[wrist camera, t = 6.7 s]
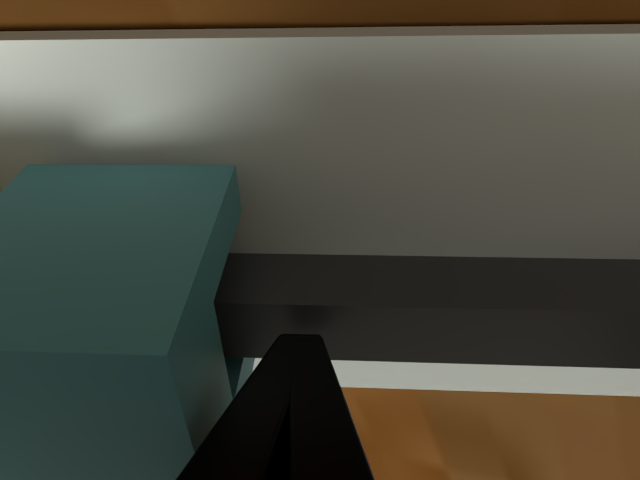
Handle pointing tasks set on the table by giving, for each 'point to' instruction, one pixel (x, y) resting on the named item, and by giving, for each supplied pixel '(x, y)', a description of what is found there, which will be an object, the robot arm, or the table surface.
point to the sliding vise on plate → (382, 185)
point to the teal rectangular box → (113, 318)
